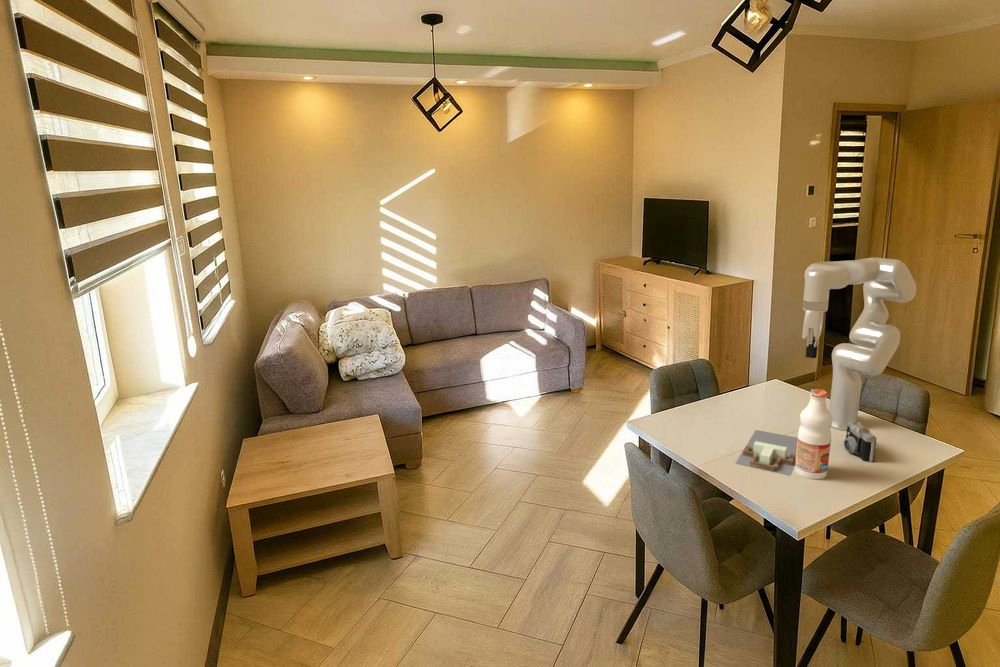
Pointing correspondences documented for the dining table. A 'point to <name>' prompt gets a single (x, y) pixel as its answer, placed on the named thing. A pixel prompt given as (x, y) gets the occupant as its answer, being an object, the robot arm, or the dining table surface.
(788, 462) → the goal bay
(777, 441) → the mat
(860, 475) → the dining table surface
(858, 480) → the dining table surface
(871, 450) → the camera
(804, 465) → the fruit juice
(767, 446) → the t block
